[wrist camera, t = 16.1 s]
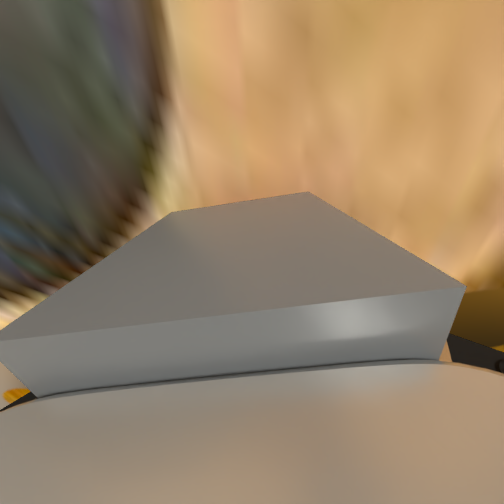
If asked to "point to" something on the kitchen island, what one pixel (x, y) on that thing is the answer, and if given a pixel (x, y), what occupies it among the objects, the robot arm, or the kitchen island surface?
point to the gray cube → (235, 301)
